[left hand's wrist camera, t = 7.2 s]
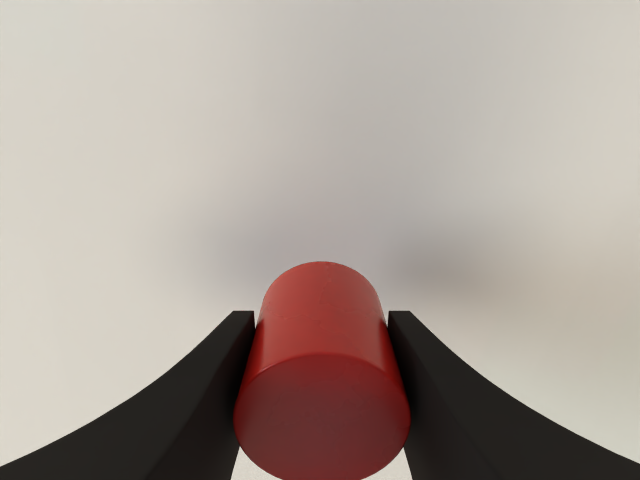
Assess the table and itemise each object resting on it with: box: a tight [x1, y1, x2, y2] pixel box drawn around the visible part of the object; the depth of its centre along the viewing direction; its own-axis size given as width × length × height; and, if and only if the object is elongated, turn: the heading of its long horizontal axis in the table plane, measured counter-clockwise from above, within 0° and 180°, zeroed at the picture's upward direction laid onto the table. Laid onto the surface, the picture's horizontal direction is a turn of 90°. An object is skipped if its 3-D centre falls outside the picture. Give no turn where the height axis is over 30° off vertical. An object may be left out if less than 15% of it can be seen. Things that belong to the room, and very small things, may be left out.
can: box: [233, 262, 411, 480], centre depth 10 cm, size 4×4×4 cm
